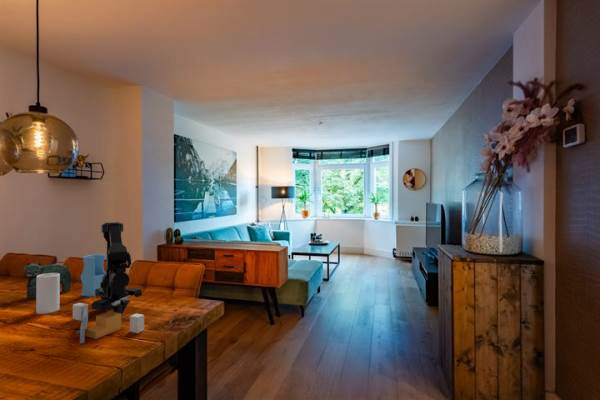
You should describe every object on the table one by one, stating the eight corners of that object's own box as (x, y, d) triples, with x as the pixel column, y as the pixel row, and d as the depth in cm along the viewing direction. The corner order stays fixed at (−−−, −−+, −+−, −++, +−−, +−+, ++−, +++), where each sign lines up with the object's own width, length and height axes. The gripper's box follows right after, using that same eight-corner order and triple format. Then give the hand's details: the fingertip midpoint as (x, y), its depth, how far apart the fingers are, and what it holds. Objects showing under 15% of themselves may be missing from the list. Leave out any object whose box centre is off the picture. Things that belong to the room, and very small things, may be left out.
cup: (32, 314, 140) (32, 277, 140) (41, 308, 148) (42, 273, 148) (54, 313, 143) (54, 276, 142) (62, 306, 150) (62, 272, 150)
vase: (93, 296, 166) (93, 257, 166) (80, 295, 167) (80, 256, 167) (105, 292, 174) (106, 255, 173) (93, 291, 175) (93, 254, 175)
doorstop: (110, 326, 129) (111, 311, 129) (121, 328, 127) (121, 313, 127) (85, 335, 120) (85, 319, 120) (95, 338, 118) (95, 322, 118)
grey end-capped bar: (87, 318, 136) (88, 306, 136) (84, 342, 113) (84, 328, 113) (81, 319, 135) (81, 307, 135) (75, 344, 112) (75, 330, 112)
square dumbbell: (79, 316, 139) (79, 302, 139) (144, 330, 126) (144, 314, 126) (72, 319, 136) (72, 304, 136) (137, 333, 123) (137, 317, 123)
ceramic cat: (24, 300, 159) (24, 259, 159) (21, 297, 163) (22, 257, 163) (72, 291, 174) (72, 254, 174) (68, 289, 178) (69, 253, 178)
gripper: (122, 273, 141) (123, 308, 142) (80, 285, 124) (81, 325, 124) (142, 275, 137) (143, 312, 138) (102, 289, 120) (102, 330, 121)
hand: (118, 319), depth 130 cm, fingers closed
